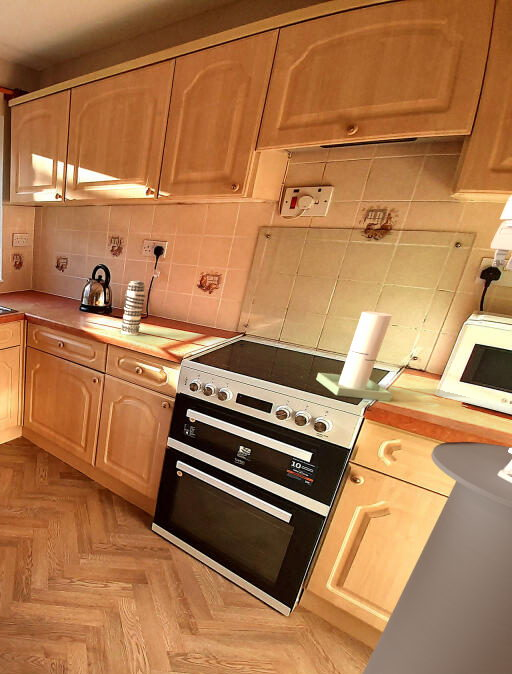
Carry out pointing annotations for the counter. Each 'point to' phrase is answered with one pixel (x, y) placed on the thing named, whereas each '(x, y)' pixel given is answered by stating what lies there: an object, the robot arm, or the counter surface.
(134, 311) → the leaning tower model
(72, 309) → the counter surface
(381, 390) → the tray
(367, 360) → the cylindrical container
